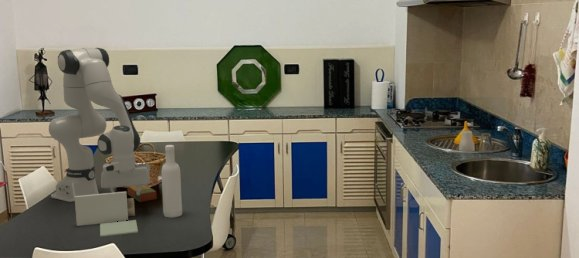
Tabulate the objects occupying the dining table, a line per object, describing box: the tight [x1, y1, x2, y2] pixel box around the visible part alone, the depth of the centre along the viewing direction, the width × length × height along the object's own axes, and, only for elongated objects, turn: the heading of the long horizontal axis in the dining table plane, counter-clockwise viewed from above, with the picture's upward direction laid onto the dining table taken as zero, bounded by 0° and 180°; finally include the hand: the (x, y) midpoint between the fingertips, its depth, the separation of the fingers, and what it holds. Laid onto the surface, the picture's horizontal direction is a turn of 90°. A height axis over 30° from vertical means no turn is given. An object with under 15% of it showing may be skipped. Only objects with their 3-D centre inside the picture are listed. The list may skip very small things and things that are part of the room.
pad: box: [99, 219, 139, 238], centre depth 231 cm, size 14×14×1 cm
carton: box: [126, 184, 158, 203], centre depth 275 cm, size 8×16×4 cm, turn 36°
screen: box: [74, 191, 129, 227], centre depth 238 cm, size 20×2×12 cm, turn 108°
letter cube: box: [127, 197, 136, 217], centre depth 249 cm, size 6×6×6 cm
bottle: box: [160, 144, 183, 219], centre depth 245 cm, size 8×8×30 cm
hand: (126, 196), depth 247 cm, fingers open, 8 cm apart
